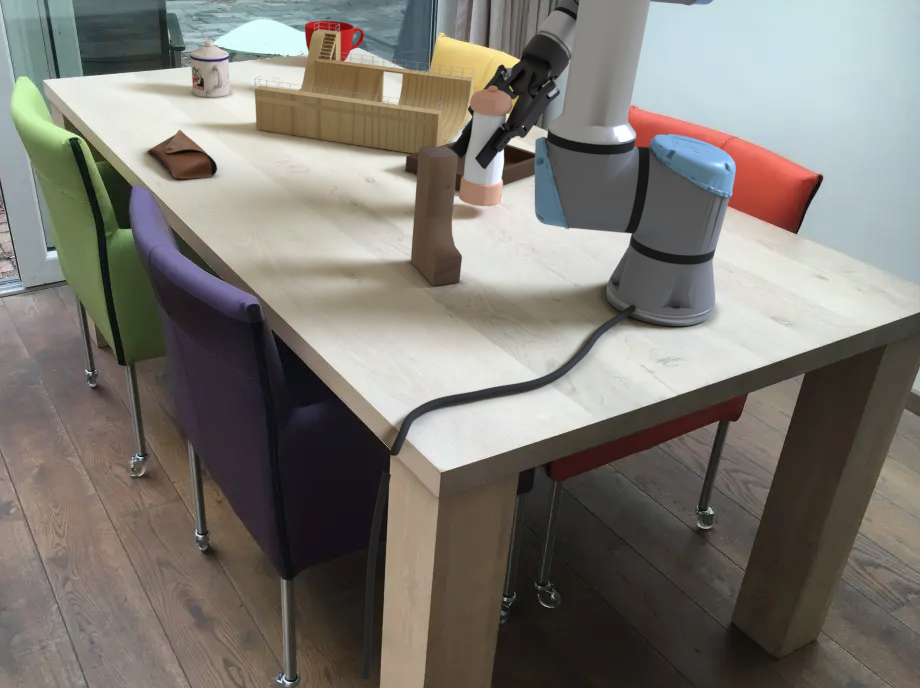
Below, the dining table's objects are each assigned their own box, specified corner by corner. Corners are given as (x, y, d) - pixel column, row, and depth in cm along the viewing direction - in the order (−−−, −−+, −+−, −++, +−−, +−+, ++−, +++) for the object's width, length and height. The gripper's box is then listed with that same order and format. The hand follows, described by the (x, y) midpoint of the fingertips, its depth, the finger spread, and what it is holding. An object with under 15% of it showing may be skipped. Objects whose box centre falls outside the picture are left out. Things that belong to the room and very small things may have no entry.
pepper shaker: (450, 196, 158) (461, 83, 148) (479, 188, 162) (492, 78, 152) (480, 209, 154) (493, 94, 143) (509, 201, 158) (524, 88, 147)
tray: (472, 196, 166) (474, 179, 164) (405, 171, 175) (406, 155, 174) (543, 171, 179) (545, 156, 177) (477, 149, 189) (478, 134, 187)
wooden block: (460, 283, 135) (472, 165, 125) (432, 286, 133) (442, 167, 123) (436, 259, 141) (446, 145, 132) (409, 262, 140) (417, 147, 130)
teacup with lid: (187, 89, 217) (183, 38, 210) (223, 86, 221) (220, 36, 214) (203, 102, 208) (200, 49, 202) (240, 99, 212) (238, 47, 205)
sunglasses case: (143, 149, 177) (158, 118, 175) (174, 163, 181) (189, 133, 180) (174, 179, 164) (190, 145, 162) (207, 193, 169) (222, 161, 167)
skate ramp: (255, 134, 193) (252, 56, 184) (318, 91, 221) (318, 21, 212) (435, 161, 183) (440, 80, 174) (477, 113, 211) (484, 41, 202)
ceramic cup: (374, 67, 244) (375, 28, 239) (318, 72, 237) (318, 32, 231) (351, 56, 254) (352, 18, 248) (296, 61, 246) (296, 22, 241)
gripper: (601, 75, 148) (514, 188, 148) (524, 51, 160) (444, 156, 161) (584, 43, 142) (494, 161, 143) (505, 21, 155) (423, 130, 155)
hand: (468, 158), depth 152 cm, fingers closed on pepper shaker, 5 cm apart
